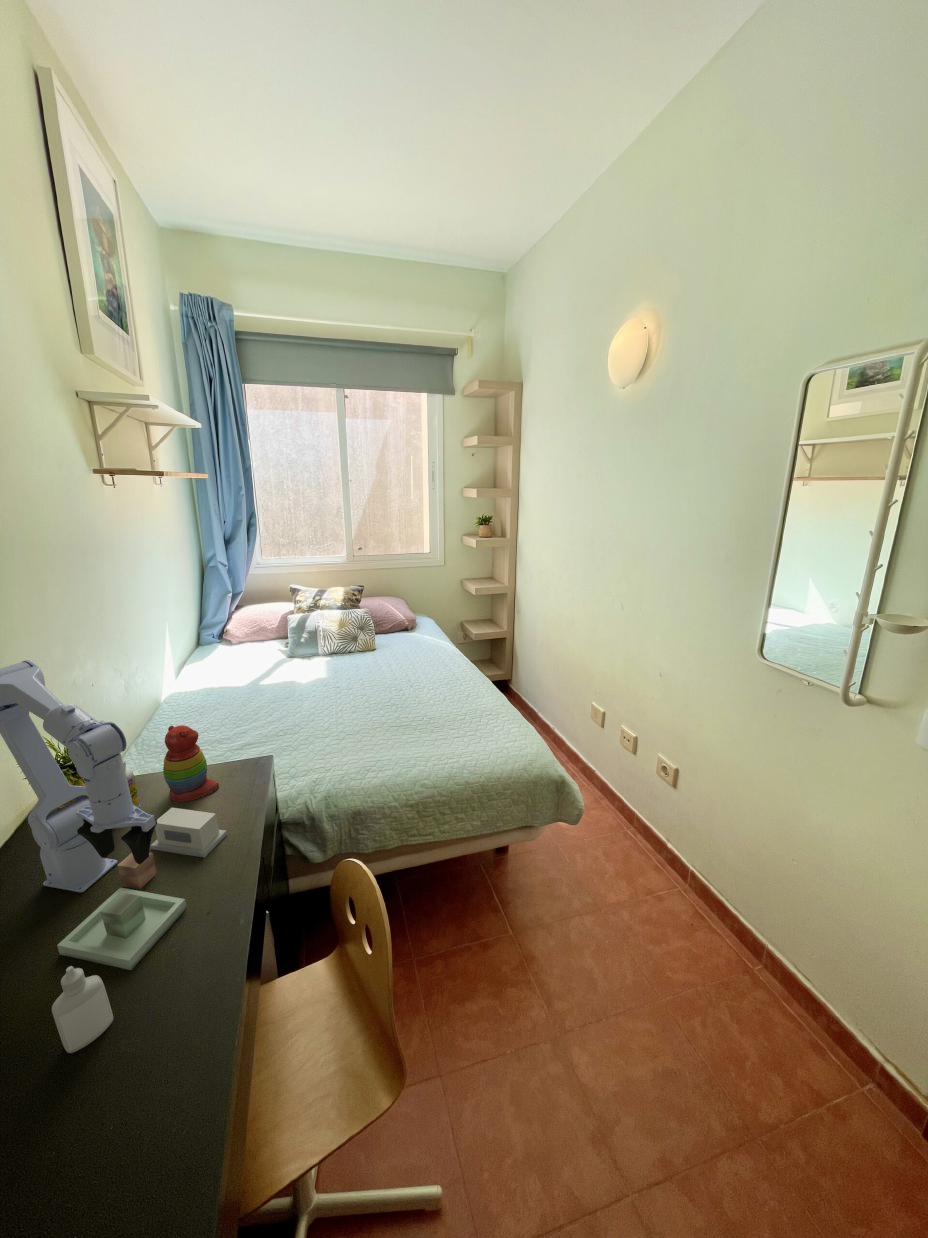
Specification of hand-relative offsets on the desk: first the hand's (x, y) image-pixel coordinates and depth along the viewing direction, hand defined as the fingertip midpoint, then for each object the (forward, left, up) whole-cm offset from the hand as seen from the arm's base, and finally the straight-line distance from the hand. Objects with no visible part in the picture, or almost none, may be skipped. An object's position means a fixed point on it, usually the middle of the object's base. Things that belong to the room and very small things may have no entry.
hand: (125, 857), depth 89 cm
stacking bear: (-14, +31, -10) cm, 35 cm away
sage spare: (+4, -6, -9) cm, 11 cm away
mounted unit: (-1, +15, -9) cm, 18 cm away
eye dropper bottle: (+13, -21, -10) cm, 26 cm away
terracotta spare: (-3, +4, -10) cm, 11 cm away
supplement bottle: (-24, +21, -10) cm, 33 cm away
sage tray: (+4, -6, -9) cm, 12 cm away
